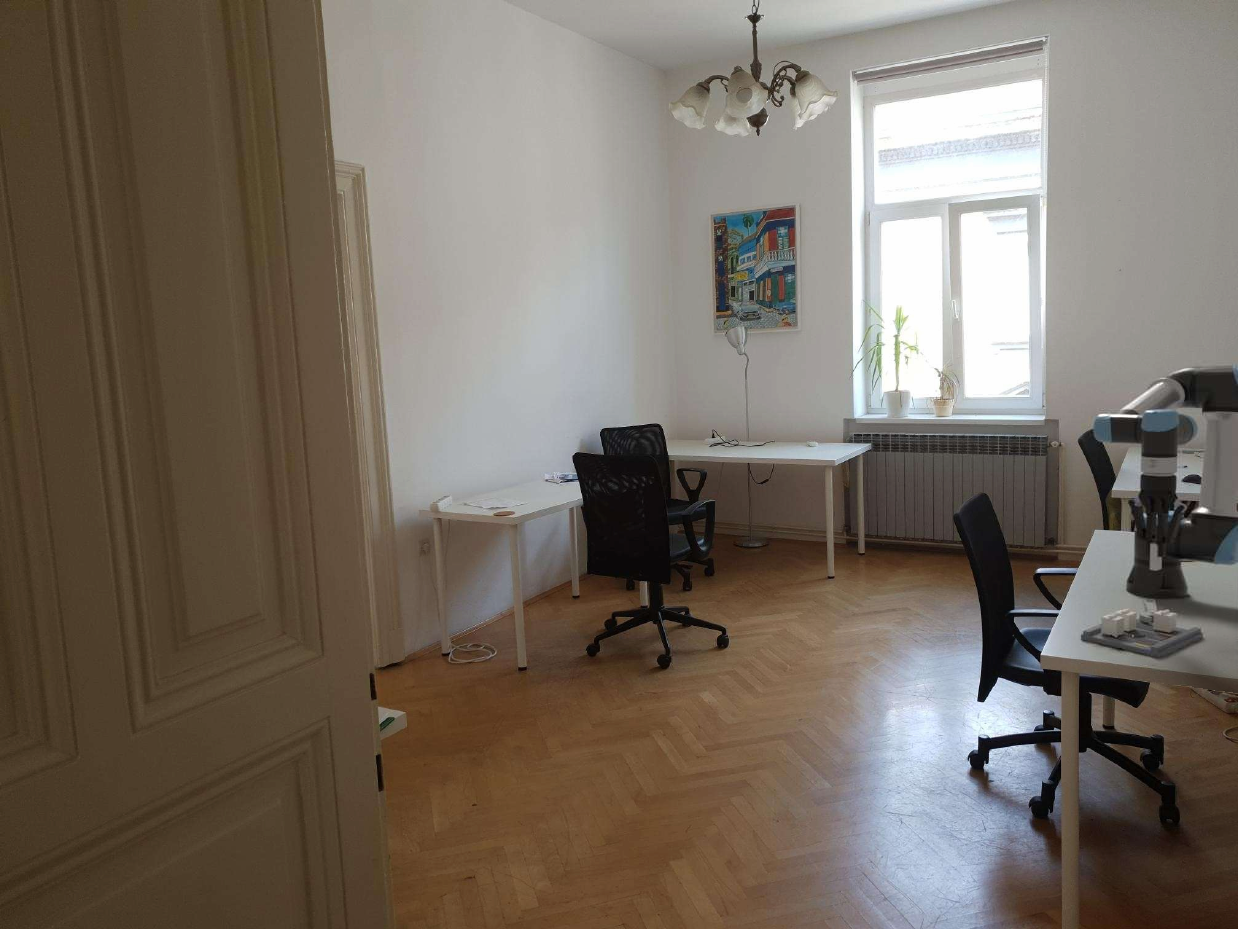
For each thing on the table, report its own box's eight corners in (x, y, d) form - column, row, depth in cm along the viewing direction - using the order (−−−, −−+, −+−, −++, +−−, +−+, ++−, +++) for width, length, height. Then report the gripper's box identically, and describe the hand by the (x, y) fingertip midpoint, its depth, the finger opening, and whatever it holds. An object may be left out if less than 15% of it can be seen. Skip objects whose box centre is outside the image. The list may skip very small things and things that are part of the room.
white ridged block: (1108, 630, 219) (1109, 611, 218) (1123, 633, 216) (1124, 615, 215) (1101, 633, 217) (1101, 614, 216) (1116, 636, 214) (1116, 617, 213)
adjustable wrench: (1142, 603, 246) (1143, 597, 245) (1170, 606, 242) (1170, 600, 242) (1138, 622, 224) (1139, 615, 224) (1168, 626, 221) (1169, 619, 221)
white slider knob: (1120, 625, 222) (1121, 607, 222) (1136, 628, 219) (1136, 610, 219) (1113, 628, 220) (1114, 610, 220) (1128, 631, 217) (1129, 613, 217)
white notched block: (1160, 626, 220) (1160, 608, 220) (1176, 629, 217) (1176, 611, 217) (1153, 629, 218) (1153, 610, 218) (1169, 632, 215) (1169, 614, 215)
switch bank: (1125, 621, 230) (1126, 613, 230) (1203, 637, 215) (1203, 628, 215) (1080, 639, 218) (1081, 630, 218) (1159, 657, 203) (1159, 648, 203)
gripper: (1122, 473, 219) (1120, 567, 221) (1180, 477, 208) (1177, 576, 211) (1137, 469, 223) (1135, 562, 226) (1195, 474, 212) (1191, 571, 215)
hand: (1155, 569), depth 218 cm, fingers closed
